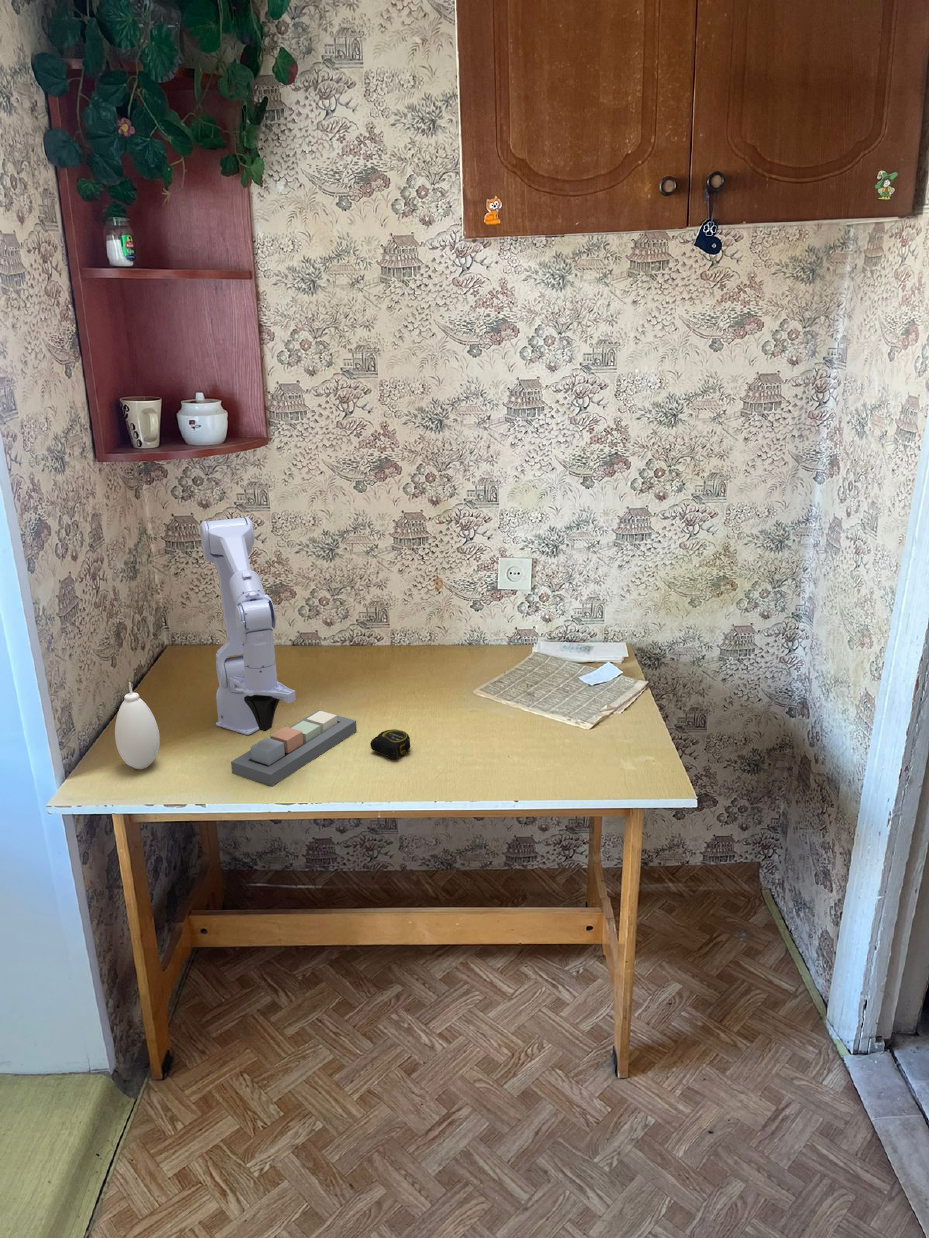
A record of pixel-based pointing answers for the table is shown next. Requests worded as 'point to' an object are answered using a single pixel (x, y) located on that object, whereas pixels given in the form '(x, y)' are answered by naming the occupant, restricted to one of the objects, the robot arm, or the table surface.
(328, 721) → the ivory key
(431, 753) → the table surface
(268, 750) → the slate key
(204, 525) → the robot arm
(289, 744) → the terracotta key
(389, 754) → the tape measure
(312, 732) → the sage key
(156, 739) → the white bulb syringe
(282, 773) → the key panel
